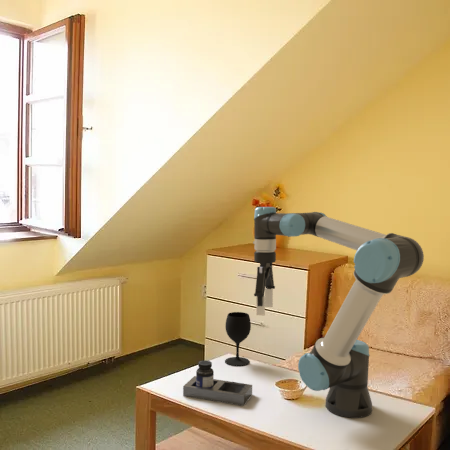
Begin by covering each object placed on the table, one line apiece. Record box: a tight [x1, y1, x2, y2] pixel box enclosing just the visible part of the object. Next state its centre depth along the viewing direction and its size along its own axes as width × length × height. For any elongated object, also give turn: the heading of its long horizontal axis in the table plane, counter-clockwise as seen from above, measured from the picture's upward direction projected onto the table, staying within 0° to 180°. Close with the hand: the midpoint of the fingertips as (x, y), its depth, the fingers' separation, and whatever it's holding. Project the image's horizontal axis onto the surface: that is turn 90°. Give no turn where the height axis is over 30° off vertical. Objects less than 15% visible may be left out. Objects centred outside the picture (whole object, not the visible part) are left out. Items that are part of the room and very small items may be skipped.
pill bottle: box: [195, 360, 215, 389], centre depth 184 cm, size 6×6×11 cm
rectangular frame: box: [182, 375, 253, 407], centre depth 183 cm, size 22×10×4 cm, turn 71°
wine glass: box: [224, 311, 252, 367], centre depth 216 cm, size 10×10×20 cm
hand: (264, 310), depth 185 cm, fingers open, 13 cm apart
